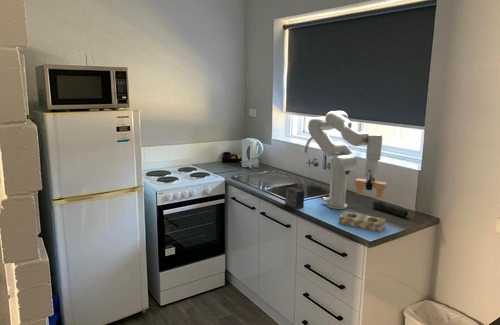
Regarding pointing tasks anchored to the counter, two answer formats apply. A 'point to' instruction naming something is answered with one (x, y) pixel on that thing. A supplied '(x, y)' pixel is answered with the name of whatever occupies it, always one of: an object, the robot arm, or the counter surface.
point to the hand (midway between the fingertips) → (370, 188)
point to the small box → (294, 197)
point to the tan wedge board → (376, 184)
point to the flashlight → (389, 208)
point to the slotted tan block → (362, 221)
